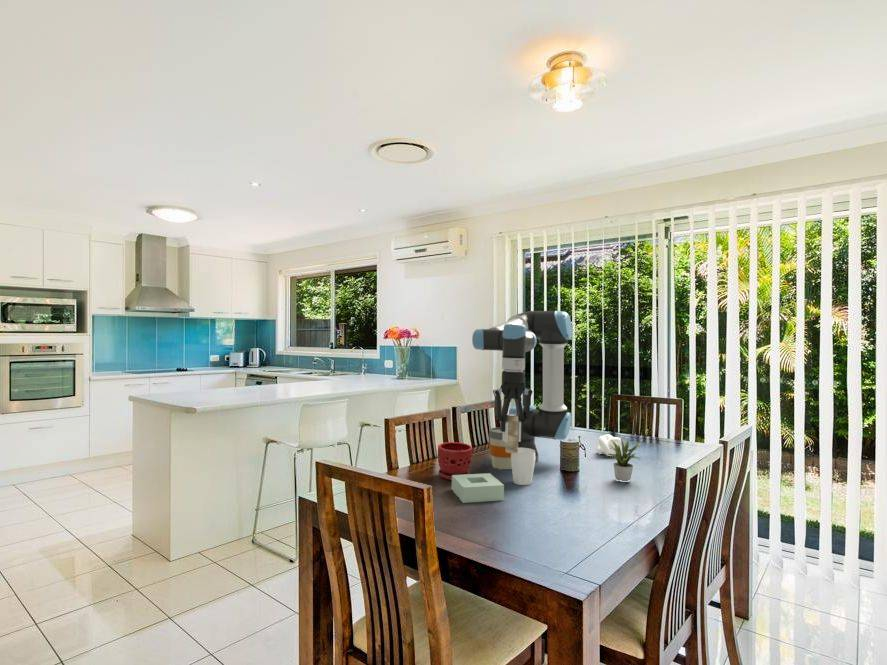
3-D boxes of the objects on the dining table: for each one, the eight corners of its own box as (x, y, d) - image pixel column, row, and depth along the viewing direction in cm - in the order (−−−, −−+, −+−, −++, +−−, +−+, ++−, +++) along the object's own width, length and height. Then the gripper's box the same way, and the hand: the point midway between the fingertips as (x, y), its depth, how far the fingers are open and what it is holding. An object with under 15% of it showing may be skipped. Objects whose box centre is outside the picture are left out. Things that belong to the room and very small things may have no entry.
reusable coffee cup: (518, 463, 217) (518, 427, 217) (519, 471, 204) (520, 434, 204) (488, 461, 218) (489, 426, 218) (487, 470, 205) (488, 432, 205)
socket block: (489, 487, 183) (489, 473, 183) (503, 500, 170) (504, 485, 170) (451, 489, 180) (451, 475, 180) (463, 502, 166) (463, 487, 166)
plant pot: (430, 478, 192) (431, 446, 192) (447, 470, 203) (447, 440, 203) (462, 484, 186) (463, 451, 185) (477, 475, 197) (478, 444, 197)
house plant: (647, 489, 185) (649, 444, 185) (607, 486, 188) (609, 441, 188) (640, 478, 199) (642, 436, 199) (603, 475, 202) (604, 433, 202)
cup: (516, 487, 184) (516, 453, 184) (506, 479, 193) (507, 447, 193) (539, 485, 186) (539, 452, 186) (528, 478, 195) (529, 447, 195)
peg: (514, 450, 173) (515, 414, 173) (519, 452, 169) (520, 416, 169) (503, 450, 172) (504, 414, 172) (508, 453, 168) (509, 416, 168)
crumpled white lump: (588, 453, 238) (588, 433, 238) (608, 451, 243) (608, 432, 243) (605, 459, 228) (606, 439, 228) (626, 456, 233) (626, 437, 233)
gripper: (493, 371, 164) (491, 444, 164) (541, 371, 169) (539, 442, 169) (485, 369, 171) (483, 439, 172) (531, 369, 176) (530, 437, 176)
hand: (511, 440), depth 170 cm, fingers closed on peg, 4 cm apart
